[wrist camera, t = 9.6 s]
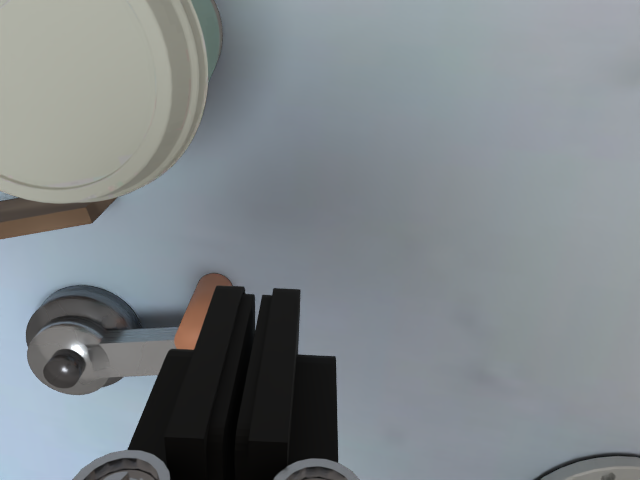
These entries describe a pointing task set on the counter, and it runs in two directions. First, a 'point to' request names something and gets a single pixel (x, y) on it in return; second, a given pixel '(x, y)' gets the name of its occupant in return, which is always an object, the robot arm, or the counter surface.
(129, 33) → the coffee cup
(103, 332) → the crank
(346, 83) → the counter surface
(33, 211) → the brown wooden u-shaped frame
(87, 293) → the crank base
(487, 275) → the counter surface
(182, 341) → the post
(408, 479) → the counter surface
